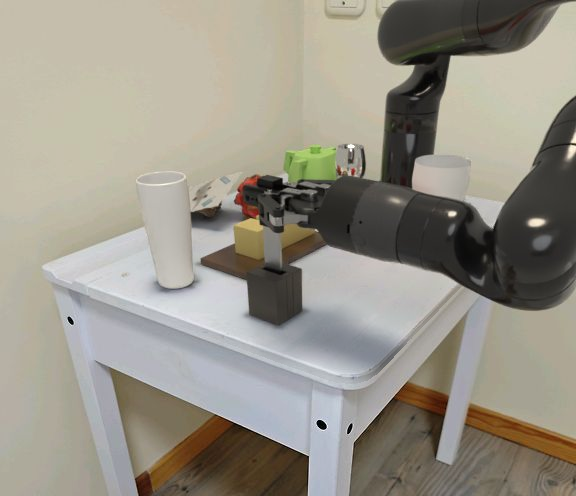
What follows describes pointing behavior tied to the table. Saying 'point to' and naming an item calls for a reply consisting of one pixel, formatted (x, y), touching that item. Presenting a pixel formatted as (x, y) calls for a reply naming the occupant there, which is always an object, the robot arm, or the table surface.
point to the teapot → (310, 164)
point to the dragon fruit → (246, 209)
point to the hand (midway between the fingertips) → (251, 191)
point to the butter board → (241, 264)
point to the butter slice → (249, 238)
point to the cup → (442, 175)
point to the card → (210, 194)
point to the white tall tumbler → (167, 225)
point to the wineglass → (350, 161)
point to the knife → (270, 238)
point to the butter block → (293, 234)
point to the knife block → (274, 293)
